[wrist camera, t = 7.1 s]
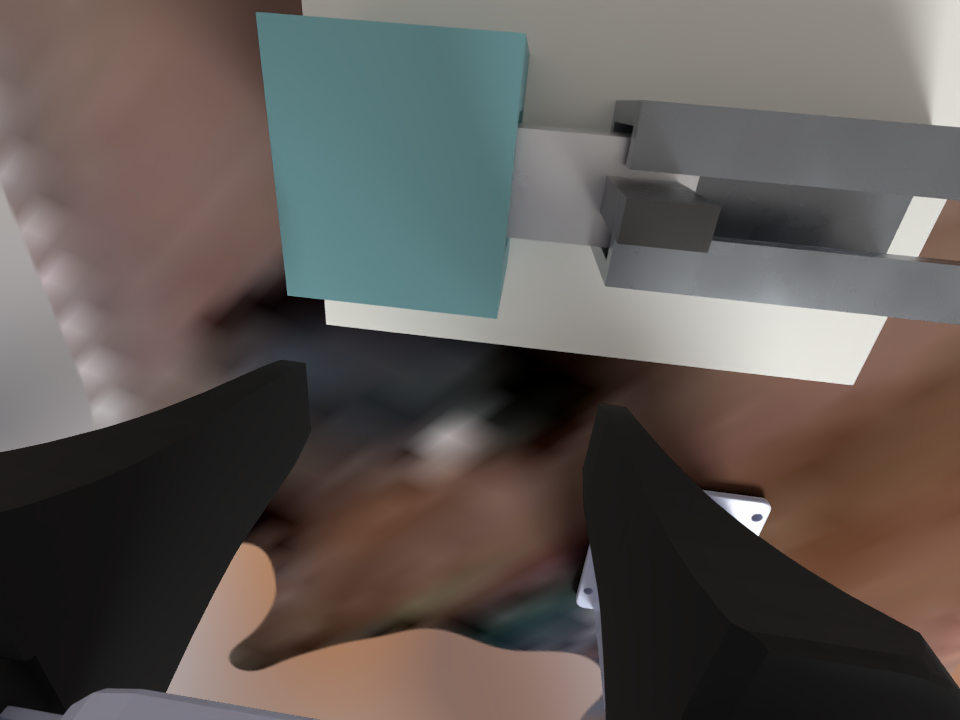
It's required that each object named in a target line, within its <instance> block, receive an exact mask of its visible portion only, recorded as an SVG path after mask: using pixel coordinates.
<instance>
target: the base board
mask: <svg viewBox="0 0 960 720" xmlns="http://www.w3.org/2000/svg"><path fill="white" fill-rule="evenodd" d="M302 12H303V16H314V17H326V18H339V19H352V20H364V21H377V22H389V23H402V24H415V25H427V26H440V27H452V28H465V29H477V30H490V31H503V32H515V33H526V37H527V42H528V48H529V53H530V56H529V65H528V75H527V84H526V93H525V103H524V112H523V122H522V124H533V125H545V126H556V127H567V128H578V129H589V130H600V131H611V126H612V120H613V115H614V109H615V104H616V100H648V101H660V102H672V103H683V104H695V105H706V106H718V107H730V108H741V109H753V110H765V111H776V112H788V113H800V114H811V115H823V116H834V117H846V118H858V119H869V120H881V121H893V122H904V123H916V124H927V125H939V126H951V127H960V0H302ZM946 200H947V199H938V198H927V197H917V196H913V198H912V200H911V203H910V205H909V207H908V209H907V211H906V213H905V215H904V217H903V219H902V222H901V224H900V226H899V228H898V230H897V232H896V234H895V236H894V238H893V241H892V243H891V245H890V247H889V249H888V251H887V253H886V254H894V255H904V256H914V257H918V256H919V254H920V252H921V250H922V248H923V246H924V244H925V242H926V240H927V238H928V236H929V234H930V232H931V230H932V228H933V226H934V224H935V222H936V220H937V218H938V216H939V214H940V212H941V210H942V208H943V206H944V204H945V202H946ZM325 312H326V324H327V325H336V326H344V327H353V328H362V329H370V330H379V331H388V332H396V333H405V334H414V335H422V336H431V337H440V338H448V339H457V340H466V341H474V342H483V343H492V344H500V345H509V346H518V347H526V348H535V349H544V350H552V351H561V352H570V353H578V354H587V355H596V356H604V357H613V358H622V359H630V360H639V361H648V362H656V363H665V364H674V365H682V366H691V367H699V368H708V369H717V370H725V371H734V372H743V373H751V374H760V375H769V376H777V377H786V378H795V379H803V380H812V381H821V382H829V383H838V384H847V385H853V384H854V382H855V380H856V378H857V376H858V374H859V372H860V370H861V368H862V366H863V364H864V363H865V361H866V359H867V357H868V355H869V353H870V351H871V349H872V347H873V345H874V343H875V341H876V339H877V337H878V335H879V333H880V331H881V329H882V327H883V325H884V323H885V321H886V319H887V317H885V316H876V315H867V314H857V313H848V312H839V311H829V310H820V309H811V308H802V307H792V306H783V305H774V304H764V303H755V302H746V301H736V300H727V299H718V298H709V297H699V296H690V295H681V294H671V293H662V292H653V291H643V290H634V289H625V288H615V287H606V286H605V285H604V282H603V280H602V277H601V274H600V271H599V268H598V266H597V263H596V260H595V257H594V255H593V252H592V249H591V246H586V245H576V244H567V243H557V242H547V241H537V240H528V239H518V238H510V245H509V254H508V263H507V269H506V274H505V280H504V285H503V290H502V295H501V301H500V306H499V311H498V316H497V319H493V318H484V317H475V316H466V315H457V314H448V313H440V312H431V311H422V310H413V309H404V308H395V307H386V306H377V305H369V304H360V303H351V302H342V301H333V300H325Z"/></svg>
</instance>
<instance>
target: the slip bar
mask: <svg viewBox="0 0 960 720" xmlns="http://www.w3.org/2000/svg"><path fill="white" fill-rule="evenodd" d="M631 137H632V133H622V132H611V131H600V130H589V129H578V128H567V127H556V126H545V125H533V124H522V123H518V132H517V141H516V151H515V161H514V171H513V180H512V190H511V200H510V210H509V219H508V229H507V237H508V238H518V239H528V240H537V241H547V242H557V243H567V244H576V245H586V246H596V247H605V248H609V246H610V241H611V236H612V235H613V237H614V239H615V241H616V242H617V244H624V245H634V246H644V247H653V248H663V249H673V250H683V251H692V252H702V253H708V251H709V248H710V244H711V241H712V238H713V234H714V231H715V228H716V224H717V221H718V218H719V214H720V211H721V208H722V207H721V206H719V205H717V204H716V203H714V202H712V201H711V200H709V199H707V198H705V197H704V196H702V195H700V194H698V193H697V192H696V188H697V184H698V181H699V177H700V176H693V175H683V174H672V173H661V172H651V171H640V170H629V169H628V168H626V162H627V157H628V152H629V147H630V142H631Z"/></svg>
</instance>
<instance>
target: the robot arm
mask: <svg viewBox="0 0 960 720" xmlns="http://www.w3.org/2000/svg"><path fill="white" fill-rule="evenodd" d="M310 432H311V425H310V413H309V400H308V388H307V376H306V363H301V362H294V361H287V360H279V361H276V362H273V363H271V364H268V365H266V366H263V367H261V368H258V369H256V370H254V371H251V372H249V373H247V374H245V375H242V376H240V377H238V378H236V379H233V380H231V381H229V382H226V383H224V384H222V385H220V386H217V387H215V388H213V389H211V390H208V391H206V392H204V393H201V394H199V395H196V396H194V397H191V398H189V399H186V400H184V401H181V402H179V403H176V404H174V405H171V406H169V407H166V408H164V409H161V410H158V411H155V412H153V413H150V414H147V415H144V416H141V417H138V418H135V419H132V420H129V421H125V422H122V423H119V424H116V425H113V426H109V427H106V428H103V429H99V430H95V431H91V432H87V433H84V434H79V435H76V436H72V437H68V438H64V439H60V440H56V441H52V442H48V443H44V444H39V445H34V446H30V447H25V448H20V449H16V450H11V451H5V452H0V720H318V719H313V718H307V717H301V716H295V715H290V714H284V713H278V712H272V711H266V710H261V709H255V708H249V707H243V706H237V705H232V704H226V703H220V702H215V701H208V700H203V699H197V698H192V697H185V696H180V695H174V694H168V693H166V691H167V689H168V687H169V685H170V682H171V680H172V678H173V676H174V674H175V671H176V670H177V668H178V665H179V663H180V661H181V659H182V657H183V655H184V653H185V650H186V648H187V646H188V644H189V642H190V640H191V638H192V636H193V634H194V631H195V630H196V628H197V626H198V624H199V622H200V620H201V618H202V616H203V614H204V612H205V610H206V608H207V606H208V604H209V602H210V600H211V598H212V596H213V594H214V592H215V590H216V588H217V587H218V585H219V583H220V581H221V579H222V577H223V575H224V573H225V572H226V570H227V568H228V566H229V564H230V562H231V560H232V559H233V557H234V555H235V553H236V552H237V550H238V549H239V547H240V545H241V544H242V542H243V541H244V539H245V537H246V536H247V534H248V533H249V531H250V530H251V529H252V527H253V526H254V524H255V523H256V521H257V520H258V518H259V517H260V515H261V514H262V512H263V511H264V510H265V508H266V507H267V505H268V504H269V502H270V501H271V499H272V498H273V496H274V495H275V493H276V492H277V491H278V489H279V488H280V486H281V485H282V483H283V482H284V480H285V479H286V477H287V476H288V474H289V473H290V471H291V470H292V468H293V466H294V465H295V463H296V461H297V459H298V457H299V455H300V453H301V451H302V449H303V447H304V445H305V443H306V441H307V439H308V436H309V434H310ZM583 499H584V512H585V518H586V524H587V530H588V537H589V543H590V544H589V548H588V552H587V556H586V560H585V564H584V568H583V571H582V575H581V579H580V583H579V587H578V591H577V595H576V601H577V604H578V605H579V606H580V607H583V608H590V609H594V615H595V624H596V633H597V642H598V652H599V661H600V670H601V679H602V688H603V697H604V706H605V711H606V720H960V688H959V687H958V685H957V684H956V683H955V681H954V680H953V678H952V677H951V676H950V674H949V673H948V672H947V670H946V669H945V667H944V666H943V665H942V663H941V662H940V660H939V659H938V658H937V656H936V655H935V653H934V652H933V651H932V649H931V648H930V646H929V645H928V644H927V642H926V641H925V640H924V638H923V637H922V636H921V634H920V633H919V632H917V631H915V630H913V629H911V628H910V627H908V626H906V625H904V624H902V623H900V622H898V621H897V620H895V619H893V618H891V617H889V616H887V615H885V614H884V613H882V612H880V611H878V610H876V609H874V608H872V607H871V606H869V605H867V604H865V603H863V602H861V601H859V600H858V599H856V598H854V597H852V596H850V595H849V594H847V593H845V592H843V591H842V590H840V589H838V588H837V587H835V586H833V585H832V584H830V583H829V582H827V581H825V580H824V579H822V578H820V577H819V576H817V575H815V574H814V573H812V572H811V571H809V570H807V569H806V568H804V567H803V566H801V565H800V564H798V563H797V562H795V561H794V560H792V559H790V558H789V557H787V556H786V555H784V554H783V553H782V552H780V551H779V550H777V549H776V548H775V547H773V546H772V545H770V544H769V543H768V542H766V541H765V540H763V539H762V538H761V537H759V534H760V532H761V530H762V528H763V526H764V524H765V522H766V519H767V517H768V515H769V513H770V511H771V506H770V504H769V502H768V501H767V500H766V499H764V498H761V497H753V496H745V495H738V494H730V493H722V492H714V491H707V490H702V489H701V488H700V487H699V486H698V485H697V484H696V483H695V482H694V481H692V480H691V479H690V478H689V477H688V476H687V475H686V474H685V473H684V472H683V471H682V470H681V469H680V468H679V467H678V466H677V465H676V464H675V462H674V461H673V460H672V459H671V458H670V457H669V456H668V455H667V454H666V453H665V452H664V451H663V450H662V448H661V447H660V446H659V445H658V444H657V443H656V442H655V441H654V439H653V438H652V437H651V436H650V435H649V434H648V432H647V431H646V430H645V429H644V428H643V427H642V426H641V424H640V423H639V422H638V421H637V420H636V419H635V417H634V416H633V415H632V414H631V413H630V412H629V411H628V409H627V408H626V407H621V406H614V405H607V404H599V407H598V411H597V415H596V419H595V423H594V427H593V431H592V435H591V439H590V443H589V447H588V451H587V455H586V459H585V463H584V467H583ZM755 514H758V515H755ZM753 515H755V516H753Z"/></svg>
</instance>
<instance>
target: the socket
mask: <svg viewBox="0 0 960 720" xmlns="http://www.w3.org/2000/svg"><path fill="white" fill-rule="evenodd" d="M256 21H257V30H258V39H259V47H260V56H261V65H262V74H263V83H264V91H265V100H266V109H267V118H268V126H269V135H270V144H271V153H272V162H273V170H274V179H275V188H276V197H277V206H278V214H279V223H280V232H281V241H282V250H283V258H284V267H285V276H286V285H287V294H288V295H289V296H297V297H306V298H315V299H324V300H333V301H342V302H351V303H360V304H369V305H377V306H386V307H395V308H404V309H413V310H422V311H431V312H440V313H448V314H457V315H466V316H475V317H484V318H493V319H497V316H498V311H499V306H500V301H501V295H502V290H503V285H504V280H505V274H506V269H507V263H508V254H509V245H510V238H508V237H507V229H508V219H509V210H510V200H511V190H512V180H513V171H514V161H515V151H516V141H517V132H518V123H522V122H523V112H524V103H525V93H526V84H527V75H528V65H529V56H530V53H529V48H528V42H527V37H526V33H515V32H503V31H490V30H477V29H465V28H452V27H440V26H427V25H415V24H402V23H389V22H377V21H364V20H352V19H339V18H326V17H314V16H301V15H289V14H276V13H264V12H256Z"/></svg>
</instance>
